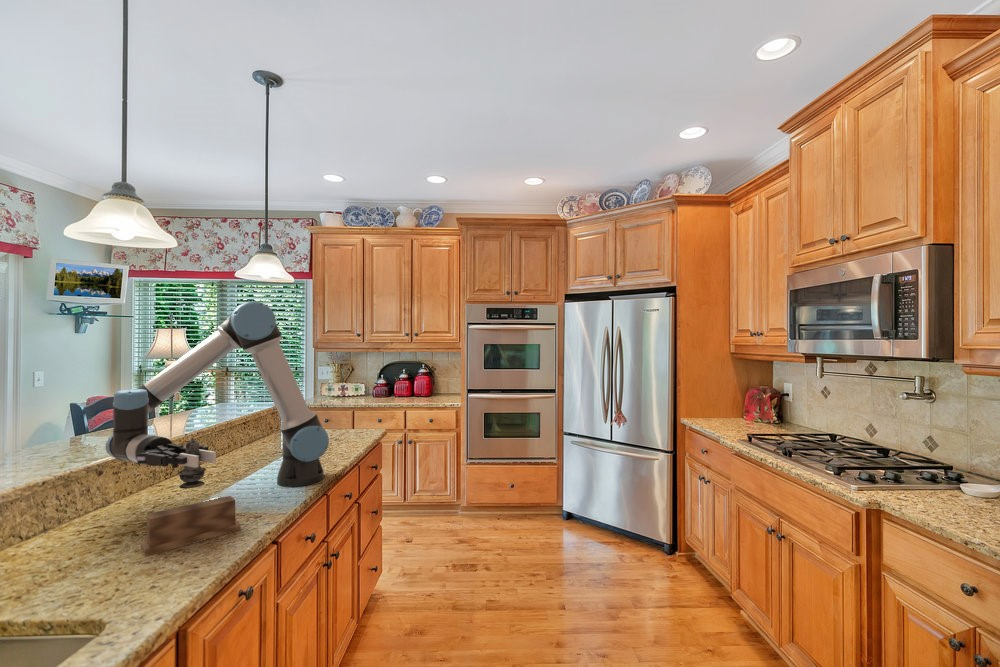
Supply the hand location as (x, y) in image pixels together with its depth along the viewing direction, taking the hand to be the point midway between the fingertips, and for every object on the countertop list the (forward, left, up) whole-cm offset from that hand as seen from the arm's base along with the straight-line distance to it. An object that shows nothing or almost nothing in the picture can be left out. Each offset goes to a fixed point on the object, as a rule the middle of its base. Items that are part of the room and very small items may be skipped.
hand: (205, 459), depth 113 cm
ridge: (+2, -5, -20) cm, 21 cm away
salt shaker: (+2, -5, -7) cm, 9 cm away
